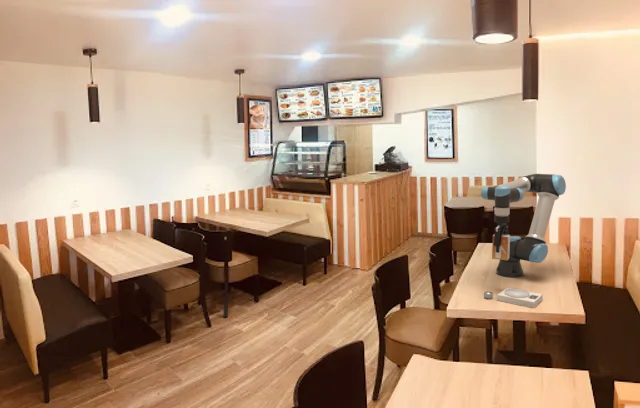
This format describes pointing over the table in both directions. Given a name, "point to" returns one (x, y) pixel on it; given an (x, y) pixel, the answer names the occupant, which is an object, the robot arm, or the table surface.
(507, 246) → the small box
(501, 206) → the robot arm
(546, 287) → the table surface
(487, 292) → the spacer
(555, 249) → the table surface
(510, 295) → the scale
